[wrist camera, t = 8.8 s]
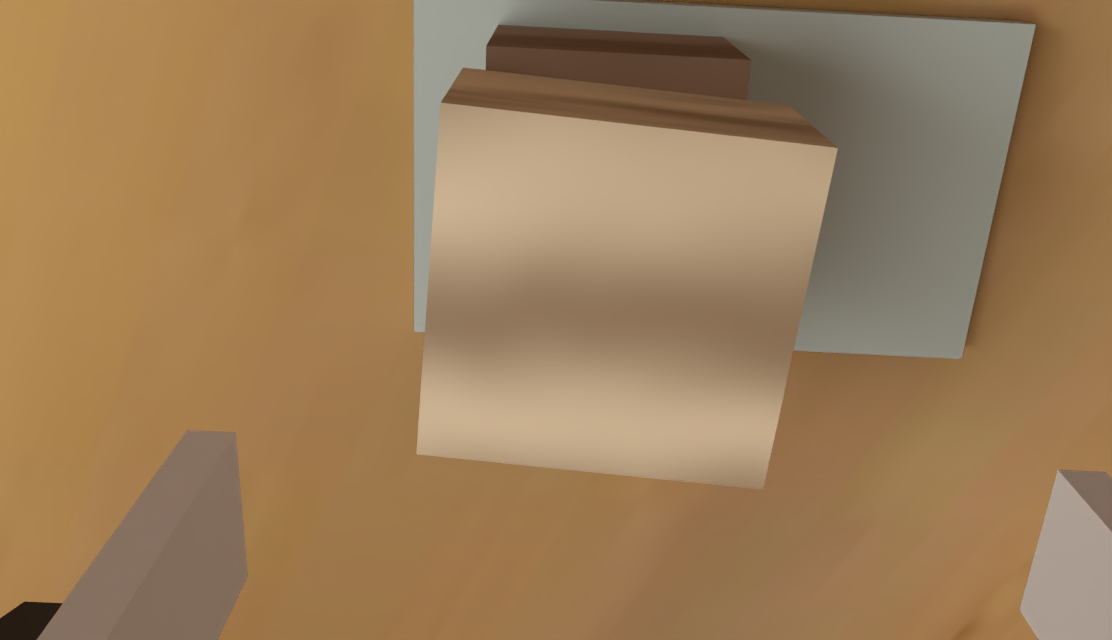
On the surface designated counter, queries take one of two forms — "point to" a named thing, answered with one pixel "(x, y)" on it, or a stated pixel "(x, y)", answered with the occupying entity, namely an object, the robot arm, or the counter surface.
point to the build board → (836, 112)
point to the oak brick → (616, 276)
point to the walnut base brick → (623, 59)
